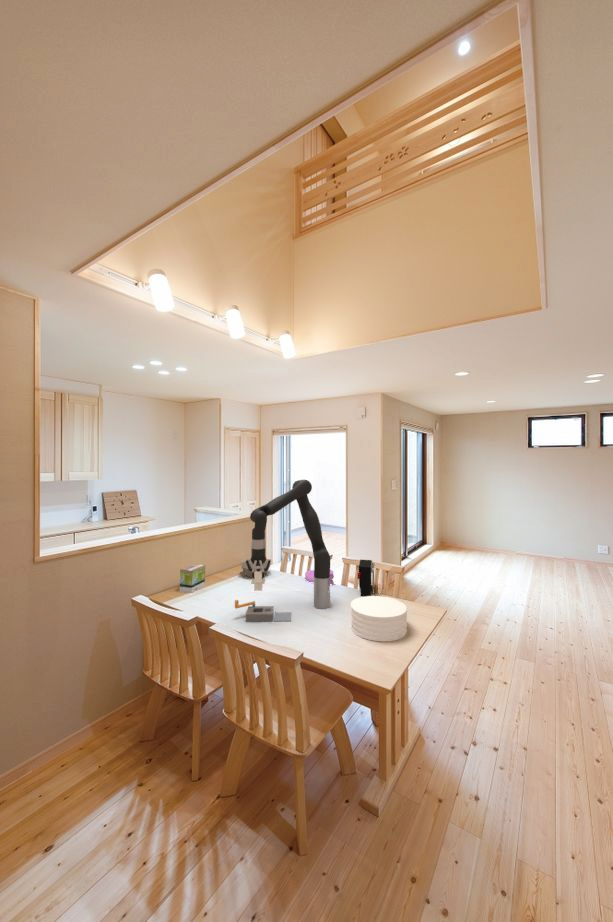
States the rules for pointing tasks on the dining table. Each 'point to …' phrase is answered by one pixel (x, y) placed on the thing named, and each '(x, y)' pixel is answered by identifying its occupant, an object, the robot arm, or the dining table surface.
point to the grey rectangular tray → (259, 614)
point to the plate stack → (378, 618)
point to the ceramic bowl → (249, 573)
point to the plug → (258, 580)
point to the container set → (310, 576)
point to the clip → (243, 604)
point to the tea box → (192, 578)
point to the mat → (282, 617)
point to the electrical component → (366, 577)
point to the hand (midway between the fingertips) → (258, 578)
